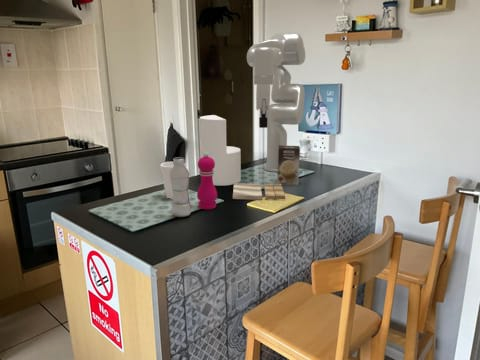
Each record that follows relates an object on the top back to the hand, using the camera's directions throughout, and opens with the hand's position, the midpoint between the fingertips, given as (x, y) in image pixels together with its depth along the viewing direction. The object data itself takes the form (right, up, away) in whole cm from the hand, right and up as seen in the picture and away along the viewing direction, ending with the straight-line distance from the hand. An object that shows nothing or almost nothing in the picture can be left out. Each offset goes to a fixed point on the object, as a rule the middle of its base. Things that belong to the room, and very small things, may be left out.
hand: (263, 127), depth 162 cm
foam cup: (-35, -28, -5) cm, 45 cm away
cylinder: (-18, -22, +17) cm, 33 cm away
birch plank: (-7, -26, -3) cm, 27 cm away
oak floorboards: (+4, -27, -3) cm, 27 cm away
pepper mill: (-21, -31, -17) cm, 41 cm away
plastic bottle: (-29, -34, -25) cm, 51 cm away
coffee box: (+11, -23, +12) cm, 28 cm away
